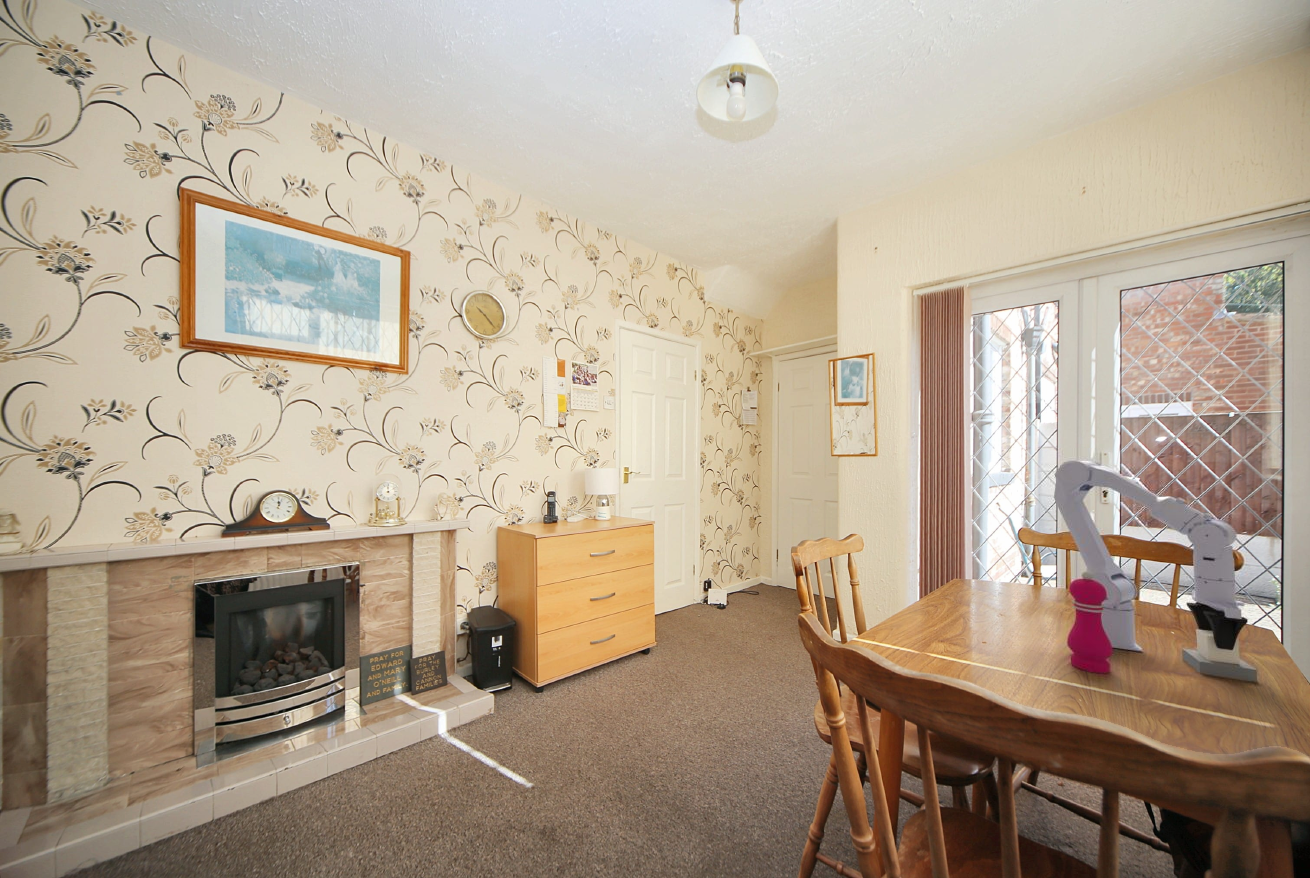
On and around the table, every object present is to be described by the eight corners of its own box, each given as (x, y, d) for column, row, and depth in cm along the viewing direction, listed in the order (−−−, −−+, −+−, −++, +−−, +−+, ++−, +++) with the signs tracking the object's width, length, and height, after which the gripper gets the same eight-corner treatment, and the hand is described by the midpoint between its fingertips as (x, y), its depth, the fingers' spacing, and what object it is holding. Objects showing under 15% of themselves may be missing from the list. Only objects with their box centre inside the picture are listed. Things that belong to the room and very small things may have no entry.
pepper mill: (1122, 676, 100) (1119, 576, 100) (1081, 673, 101) (1078, 574, 102) (1098, 661, 107) (1095, 568, 107) (1060, 659, 108) (1057, 567, 109)
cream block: (1208, 660, 101) (1206, 635, 102) (1197, 652, 105) (1196, 629, 106) (1239, 664, 99) (1238, 639, 100) (1227, 656, 103) (1225, 632, 104)
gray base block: (1200, 676, 101) (1199, 661, 101) (1182, 662, 108) (1182, 648, 108) (1257, 685, 97) (1256, 669, 97) (1235, 669, 104) (1234, 655, 104)
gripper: (1262, 588, 95) (1266, 660, 94) (1222, 573, 108) (1225, 636, 107) (1211, 584, 98) (1214, 653, 98) (1178, 569, 111) (1180, 630, 111)
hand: (1216, 643), depth 103 cm, fingers open, 6 cm apart
